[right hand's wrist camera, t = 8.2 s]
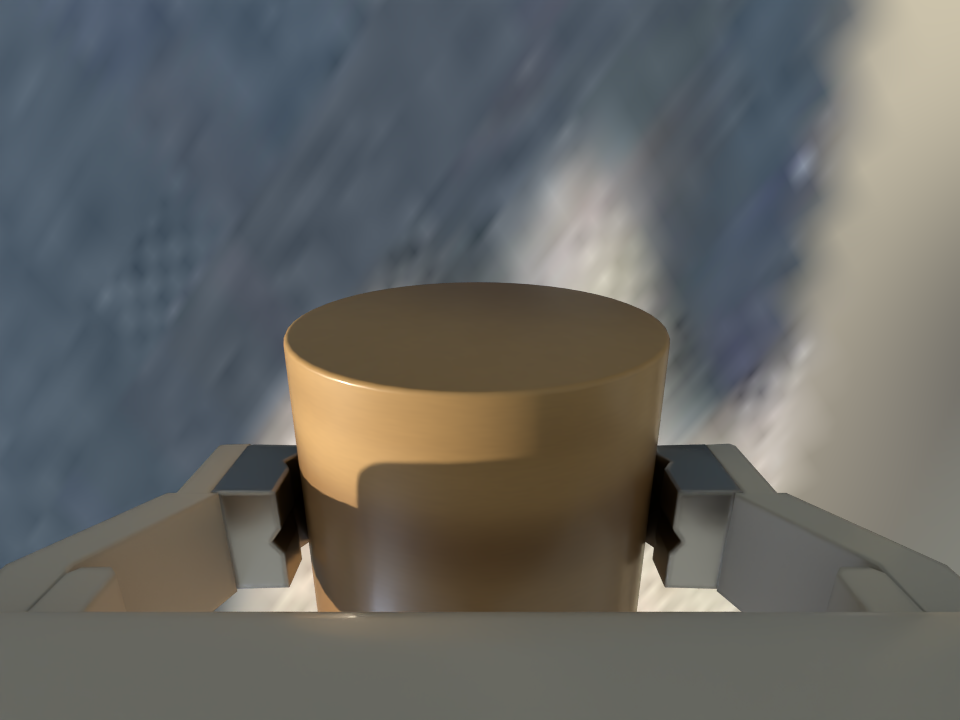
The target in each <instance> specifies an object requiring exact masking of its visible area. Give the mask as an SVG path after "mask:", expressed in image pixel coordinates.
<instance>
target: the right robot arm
mask: <svg viewBox="0 0 960 720" xmlns="http://www.w3.org/2000/svg"><path fill="white" fill-rule="evenodd" d="M308 542H309V538H308V531H307V523H306V515H305V507H304V499H303V492H302V484H301V476H300V468H299V461H298V453H297V445H251V444H229V445H220V446H219V447H218V448H217V449H216V450H215V451H214V452H213V453H212V454H211V456H210V457H209V458H208V459H207V460H206V461H205V462H204V463H203V464H202V465H201V467H200V468H199V469H198V470H197V471H196V472H195V473H194V474H193V475H192V476H191V478H190V479H189V480H188V481H187V482H186V483H185V484H184V485H183V486H182V488H181V489H180V490H179V491H178V492H177V493H166V494H164V495H162V496H160V497H157V498H155V499H153V500H151V501H148V502H146V503H144V504H142V505H139V506H137V507H135V508H133V509H130V510H128V511H126V512H124V513H121V514H119V515H117V516H115V517H112V518H110V519H108V520H106V521H103V522H101V523H99V524H97V525H94V526H92V527H90V528H88V529H85V530H83V531H81V532H79V533H76V534H74V535H72V536H70V537H67V538H65V539H63V540H61V541H58V542H56V543H54V544H52V545H49V546H47V547H45V548H43V549H41V550H38V551H36V552H34V553H32V554H29V555H27V556H25V557H23V558H20V559H18V560H16V561H14V562H11V563H9V564H7V565H5V566H4V567H3V568H2V569H1V570H0V720H960V577H959V576H958V575H957V574H956V573H955V572H954V571H953V570H952V569H950V568H949V567H948V566H947V565H945V564H943V563H940V562H938V561H936V560H934V559H931V558H929V557H927V556H925V555H923V554H920V553H918V552H916V551H914V550H911V549H909V548H907V547H905V546H903V545H900V544H898V543H896V542H894V541H891V540H889V539H887V538H885V537H883V536H880V535H878V534H876V533H874V532H872V531H869V530H867V529H865V528H863V527H860V526H858V525H856V524H854V523H852V522H849V521H847V520H845V519H843V518H840V517H838V516H836V515H834V514H832V513H829V512H827V511H825V510H823V509H821V508H818V507H816V506H814V505H812V504H810V503H807V502H805V501H803V500H801V499H798V498H796V497H794V496H792V495H790V494H787V493H777V492H776V491H775V490H774V489H773V488H772V487H771V486H770V484H769V483H768V482H767V481H766V480H765V479H764V478H763V477H762V475H761V474H760V473H759V472H758V471H757V470H756V469H755V468H754V466H753V465H752V464H751V463H750V462H749V461H748V460H747V459H746V457H745V456H744V455H743V454H742V453H741V452H740V451H739V450H738V448H737V447H736V446H734V445H731V444H714V445H705V444H703V445H661V446H657V451H656V459H655V467H654V475H653V484H652V492H651V500H650V508H649V516H648V524H647V532H646V540H645V542H647V543H648V544H650V545H651V546H652V547H654V552H653V561H654V563H655V566H656V568H657V570H658V573H659V575H660V577H661V579H662V582H663V584H664V586H665V587H672V588H709V589H717V592H719V593H720V594H721V595H722V596H723V597H725V598H726V599H727V600H728V601H729V602H731V603H732V604H733V605H734V606H735V607H737V608H738V609H739V610H740V611H741V612H213V611H214V610H215V609H216V608H217V607H219V606H220V605H221V604H222V603H224V602H225V601H226V600H227V599H228V598H230V597H231V596H232V595H233V594H234V593H236V592H237V589H245V588H280V587H290V584H291V582H292V580H293V578H294V576H295V573H296V571H297V569H298V567H299V564H300V562H301V560H302V556H301V547H302V546H304V545H305V544H307V543H308Z"/></svg>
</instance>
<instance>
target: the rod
mask: <svg viewBox="0 0 960 720" xmlns="http://www.w3.org/2000/svg"><path fill="white" fill-rule="evenodd" d="M669 346H670V338H669V335H668V332H667V330H666V328H665V327H664V326H663V324H662V323H661V322H660V321H659V320H657V319H656V318H655V317H653V316H652V315H650V314H649V313H647V312H645V311H643V310H641V309H639V308H637V307H634V306H632V305H629V304H627V303H624V302H621V301H618V300H615V299H612V298H608V297H604V296H600V295H596V294H592V293H587V292H582V291H577V290H571V289H565V288H557V287H550V286H540V285H530V284H516V283H488V282H467V283H440V284H425V285H415V286H405V287H398V288H391V289H384V290H379V291H373V292H368V293H363V294H359V295H355V296H351V297H347V298H343V299H340V300H337V301H334V302H331V303H328V304H325V305H323V306H321V307H318V308H316V309H313V310H312V311H310V312H308V313H306V314H304V315H302V316H301V317H300V318H298V319H297V320H295V321H294V322H293V323H292V324H291V326H290V327H289V328H288V330H287V332H286V334H285V337H284V351H285V359H286V367H287V375H288V383H289V390H290V398H291V406H292V414H293V422H294V429H295V437H296V445H297V453H298V461H299V468H300V476H301V484H302V492H303V499H304V507H305V515H306V523H307V531H308V538H309V546H310V554H311V562H312V570H313V577H314V585H315V593H316V601H317V609H318V612H637V605H638V596H639V588H640V580H641V572H642V564H643V556H644V548H645V540H646V532H647V524H648V516H649V508H650V500H651V492H652V484H653V475H654V467H655V459H656V451H657V443H658V435H659V427H660V419H661V411H662V403H663V395H664V387H665V379H666V371H667V362H668V354H669Z"/></svg>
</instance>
